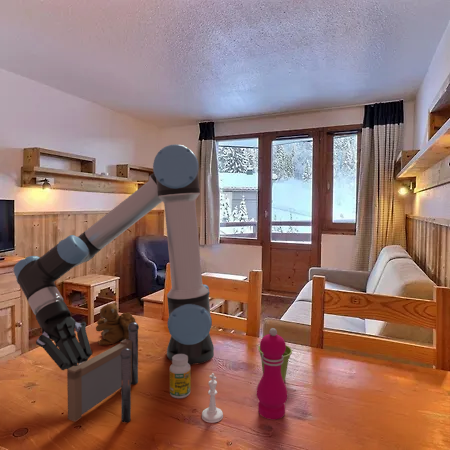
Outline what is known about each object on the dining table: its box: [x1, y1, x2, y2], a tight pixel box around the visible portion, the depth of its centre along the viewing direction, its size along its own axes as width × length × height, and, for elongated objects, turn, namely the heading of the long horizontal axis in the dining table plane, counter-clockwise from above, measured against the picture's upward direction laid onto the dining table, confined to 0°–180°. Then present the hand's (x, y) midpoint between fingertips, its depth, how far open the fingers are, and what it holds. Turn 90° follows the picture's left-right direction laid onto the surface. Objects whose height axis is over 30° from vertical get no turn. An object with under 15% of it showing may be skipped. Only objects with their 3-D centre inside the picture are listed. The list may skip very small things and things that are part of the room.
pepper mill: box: [256, 327, 288, 421], centre depth 79 cm, size 7×7×20 cm
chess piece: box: [201, 372, 224, 424], centre depth 78 cm, size 5×5×10 cm
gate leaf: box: [66, 339, 132, 422], centre depth 82 cm, size 19×2×11 cm, turn 156°
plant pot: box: [257, 344, 293, 382], centre depth 95 cm, size 9×9×9 cm
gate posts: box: [120, 322, 140, 424], centre depth 84 cm, size 4×19×17 cm, turn 4°
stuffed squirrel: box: [95, 302, 137, 346], centre depth 122 cm, size 10×14×13 cm
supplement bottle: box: [169, 354, 192, 399], centre depth 87 cm, size 5×5×10 cm
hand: (91, 388), depth 81 cm, fingers closed
